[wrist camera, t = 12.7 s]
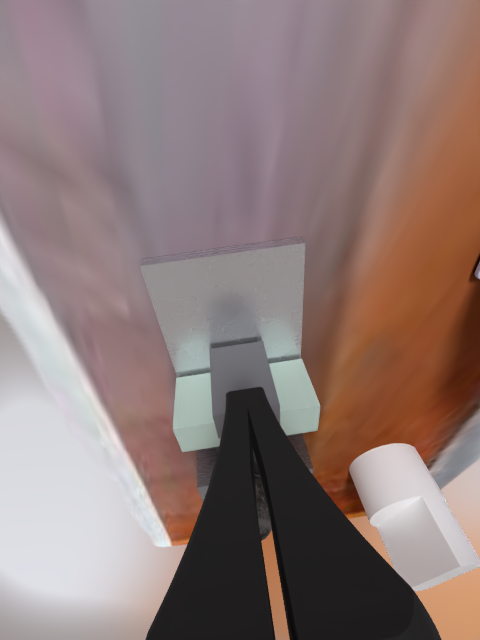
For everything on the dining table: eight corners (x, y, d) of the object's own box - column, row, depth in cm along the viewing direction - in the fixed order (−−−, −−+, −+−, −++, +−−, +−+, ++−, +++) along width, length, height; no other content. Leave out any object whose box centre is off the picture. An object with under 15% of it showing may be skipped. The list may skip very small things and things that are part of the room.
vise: (300, 236, 19) (334, 283, 14) (295, 427, 32) (311, 484, 27) (142, 258, 18) (123, 313, 14) (202, 442, 32) (203, 502, 27)
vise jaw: (302, 334, 22) (329, 397, 18) (300, 383, 25) (322, 445, 21) (168, 355, 22) (161, 423, 17) (184, 401, 25) (181, 468, 21)
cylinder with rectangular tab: (373, 440, 36) (437, 566, 26) (431, 446, 38) (508, 562, 29) (336, 477, 41) (379, 594, 31) (389, 479, 43) (443, 588, 34)
